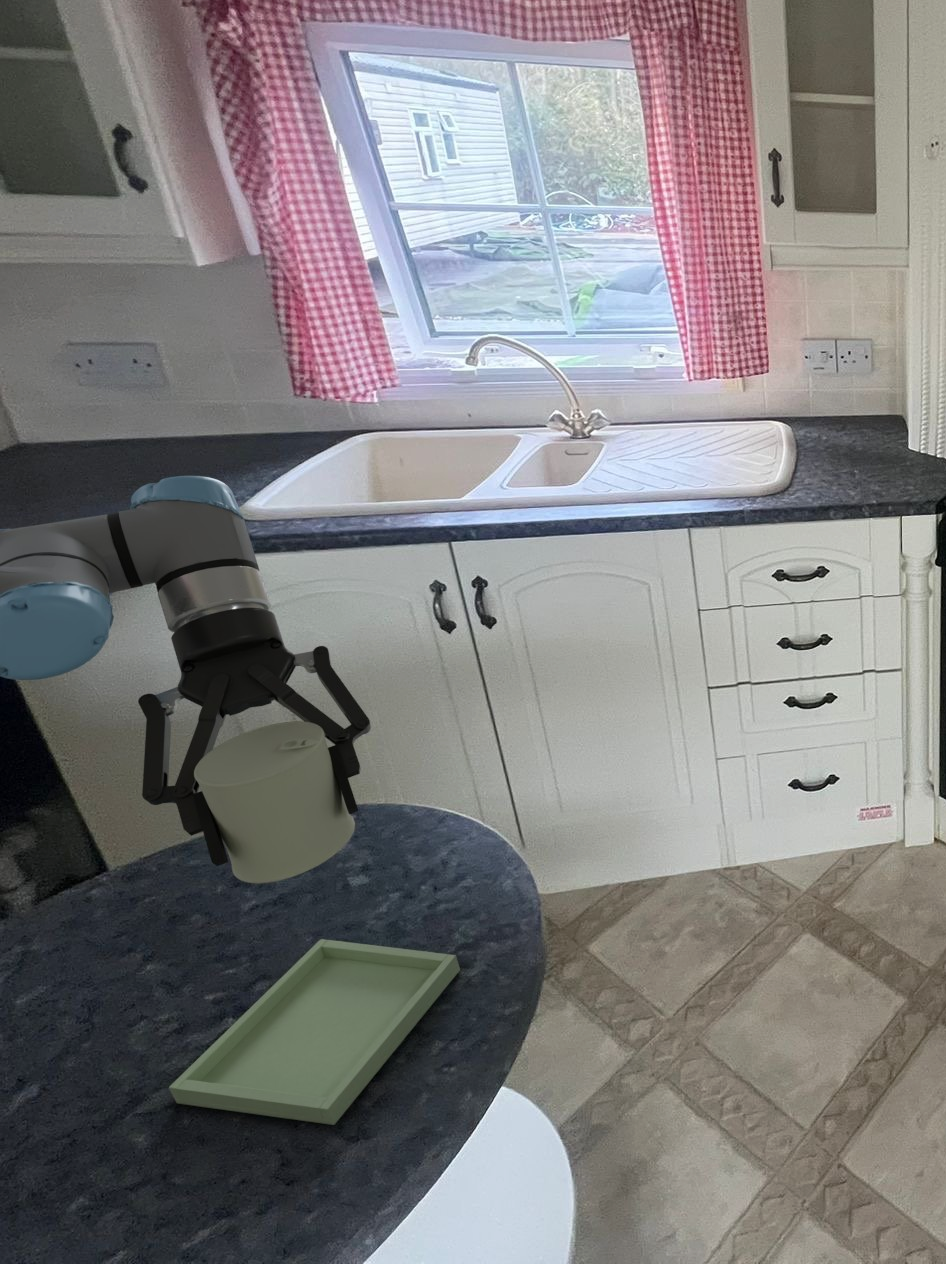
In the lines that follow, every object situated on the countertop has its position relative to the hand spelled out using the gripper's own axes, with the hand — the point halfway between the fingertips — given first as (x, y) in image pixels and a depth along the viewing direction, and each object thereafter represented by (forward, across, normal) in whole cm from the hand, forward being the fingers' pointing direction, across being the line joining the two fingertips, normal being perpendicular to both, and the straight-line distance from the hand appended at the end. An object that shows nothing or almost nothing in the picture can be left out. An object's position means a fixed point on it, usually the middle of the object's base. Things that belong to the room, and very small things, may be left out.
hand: (289, 835), depth 77 cm
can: (+1, 0, -5) cm, 5 cm away
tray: (+18, +2, -6) cm, 19 cm away
